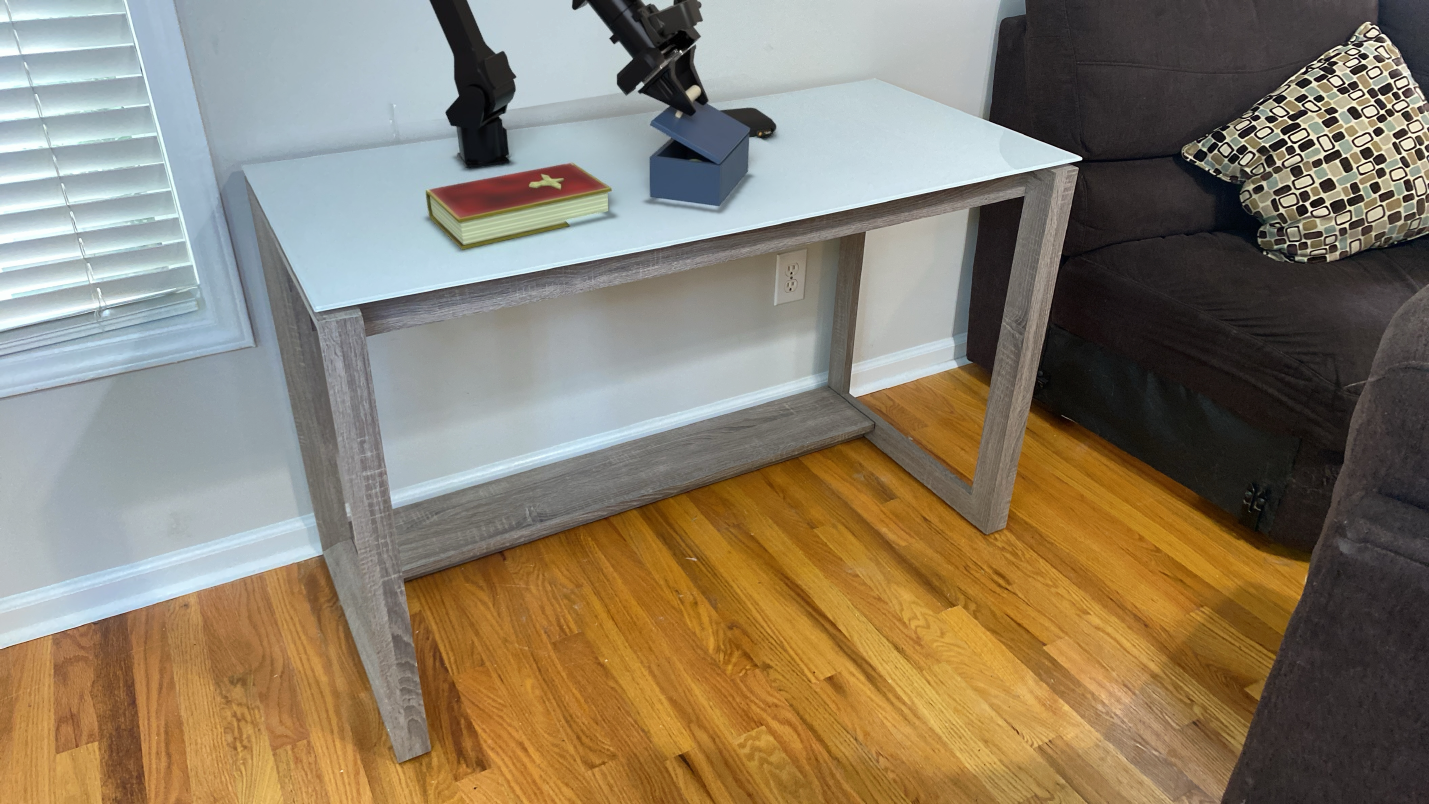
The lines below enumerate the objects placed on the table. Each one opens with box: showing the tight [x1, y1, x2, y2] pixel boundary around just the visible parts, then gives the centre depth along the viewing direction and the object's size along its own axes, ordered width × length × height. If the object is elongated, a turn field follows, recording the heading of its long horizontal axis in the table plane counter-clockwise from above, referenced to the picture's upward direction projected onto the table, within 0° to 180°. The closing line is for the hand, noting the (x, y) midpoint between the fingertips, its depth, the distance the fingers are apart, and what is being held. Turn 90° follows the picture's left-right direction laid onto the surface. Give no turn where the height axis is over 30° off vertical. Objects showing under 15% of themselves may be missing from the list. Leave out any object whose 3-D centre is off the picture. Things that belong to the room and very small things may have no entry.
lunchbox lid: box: [649, 85, 750, 165], centre depth 132 cm, size 11×15×4 cm
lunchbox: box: [649, 134, 750, 207], centre depth 137 cm, size 10×15×6 cm
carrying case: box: [718, 107, 777, 139], centre depth 158 cm, size 11×3×15 cm
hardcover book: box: [425, 162, 612, 250], centre depth 127 cm, size 12×21×4 cm, turn 123°
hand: (700, 108), depth 132 cm, fingers closed on lunchbox lid, 5 cm apart
